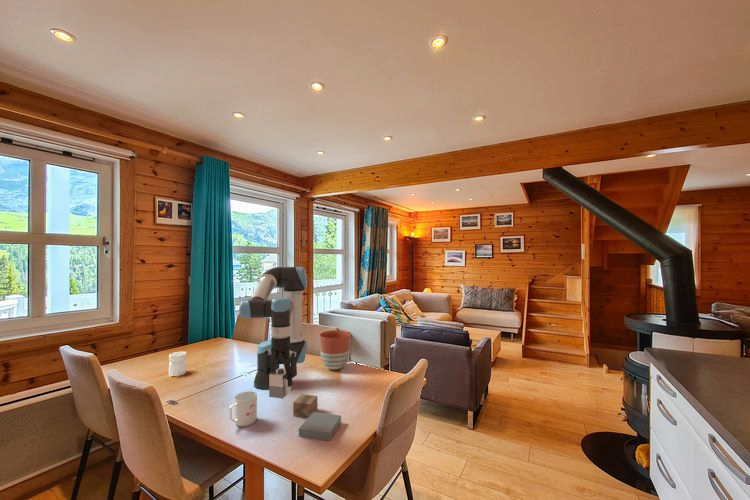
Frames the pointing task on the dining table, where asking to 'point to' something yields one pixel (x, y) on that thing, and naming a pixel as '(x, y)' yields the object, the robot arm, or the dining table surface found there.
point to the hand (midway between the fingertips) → (280, 393)
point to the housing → (277, 383)
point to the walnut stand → (304, 405)
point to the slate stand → (320, 426)
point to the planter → (335, 348)
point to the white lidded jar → (177, 364)
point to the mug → (244, 408)
